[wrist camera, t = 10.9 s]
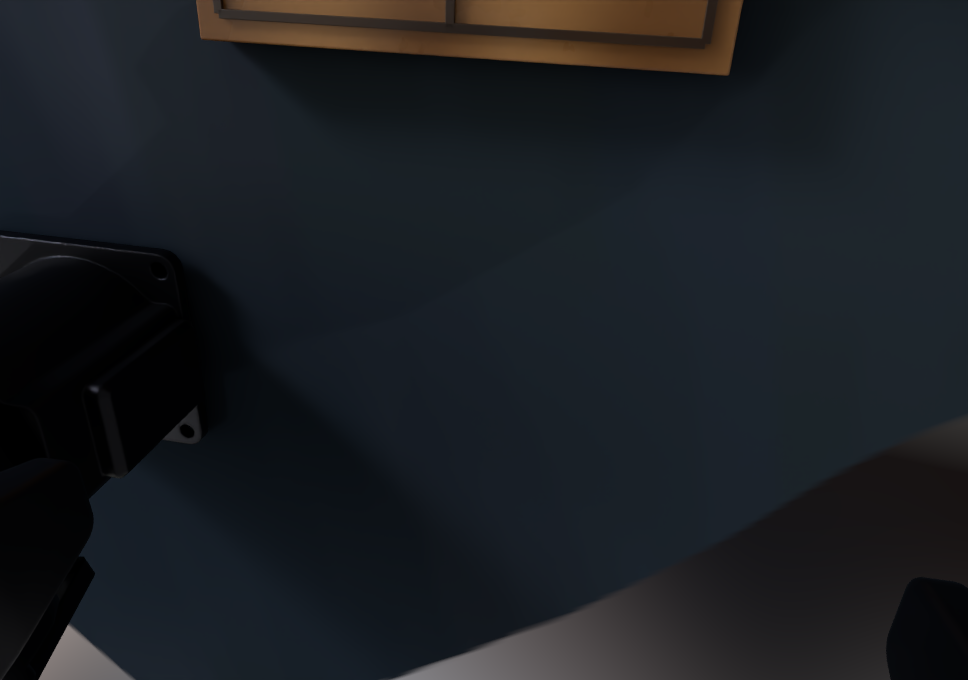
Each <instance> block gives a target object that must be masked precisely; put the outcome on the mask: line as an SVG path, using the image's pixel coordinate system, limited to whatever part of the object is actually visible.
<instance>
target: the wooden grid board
mask: <svg viewBox="0 0 968 680" xmlns="http://www.w3.org/2000/svg"><path fill="white" fill-rule="evenodd" d="M196 4H197V12H198V20H199V27H200V35H201V39H202V40H212V41H226V42H241V43H255V44H270V45H285V46H299V47H314V48H329V49H343V50H358V51H373V52H387V53H402V54H416V55H431V56H446V57H460V58H475V59H490V60H504V61H519V62H534V63H548V64H563V65H577V66H592V67H607V68H621V69H636V70H651V71H665V72H680V73H695V74H709V75H724V76H727V75H729V73H730V68H731V63H732V57H733V52H734V47H735V41H736V36H737V31H738V26H739V20H740V15H741V10H742V4H743V0H196Z"/></svg>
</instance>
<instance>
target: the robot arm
mask: <svg viewBox="0 0 968 680" xmlns="http://www.w3.org/2000/svg"><path fill="white" fill-rule="evenodd" d="M158 263H161V264H162V265H163V266H164V267H165V268H166V271H167V274H166V273H164V272H163V271H162V270H161V269H160V267H159V265H158ZM204 397H205V392H204V386H203V379H202V373H201V367H200V361H199V354H198V348H197V342H196V336H195V330H194V327H193V326H192V323H191V317H190V311H189V305H188V298H187V292H186V286H185V280H184V274H183V268H182V265H181V262H180V260H179V259H178V258H177V256H176V255H175V254H173V253H172V252H170V251H167V250H164V249H156V248H148V247H139V246H130V245H122V244H113V243H104V242H96V241H87V240H78V239H70V238H61V237H52V236H44V235H35V234H26V233H18V232H9V231H0V680H38V679H39V677H40V675H41V674H42V672H43V670H44V668H45V666H46V664H47V663H48V661H49V659H50V657H51V655H52V653H53V651H54V649H55V648H56V646H57V644H58V642H59V640H60V639H61V636H62V635H63V633H64V631H65V629H66V627H67V625H68V624H69V622H70V620H71V618H72V616H73V614H74V613H75V611H76V609H77V607H78V605H79V603H80V601H81V600H82V598H83V596H84V594H85V592H86V590H87V589H88V587H89V585H90V583H91V581H92V579H93V577H94V575H95V572H94V571H93V569H92V568H91V567H90V565H89V564H88V562H87V561H86V559H85V558H84V557H79V554H80V553H81V551H82V549H83V548H84V546H85V544H86V543H87V541H88V539H89V537H90V535H91V532H92V529H93V523H94V517H93V512H92V509H91V506H90V502H89V498H90V497H91V496H92V495H93V494H95V493H96V492H97V491H98V490H99V489H100V488H101V487H102V486H103V485H104V484H105V483H106V482H107V481H108V480H109V479H110V478H111V477H116V478H122V477H124V476H125V475H126V474H128V473H129V472H130V471H131V470H132V469H133V468H134V467H135V466H136V465H137V464H138V463H139V462H140V461H141V460H142V459H143V458H144V457H145V456H146V455H147V454H148V453H149V452H150V451H151V450H152V449H153V448H154V447H155V446H156V445H157V444H158V443H159V442H160V441H161V440H167V441H174V442H180V443H186V444H195V443H197V442H199V441H200V440H201V439H202V438H203V437H204V436H205V435H206V433H207V432H208V423H207V416H206V410H205V404H204ZM188 425H189V426H191V427H192V428H193V430H191V429H190V428H189V427H188ZM886 652H887V653H886V654H887V662H888V668H889V673H890V678H891V680H968V588H967V587H965V586H964V585H962V584H960V583H957V582H953V581H945V580H939V579H930V578H923V577H919V578H915V579H913V580H911V582H909V584H908V585H907V587H906V589H905V592H904V594H903V597H902V600H901V602H900V605H899V607H898V610H897V613H896V615H895V618H894V620H893V623H892V626H891V629H890V631H889V634H888V637H887V646H886Z"/></svg>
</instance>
